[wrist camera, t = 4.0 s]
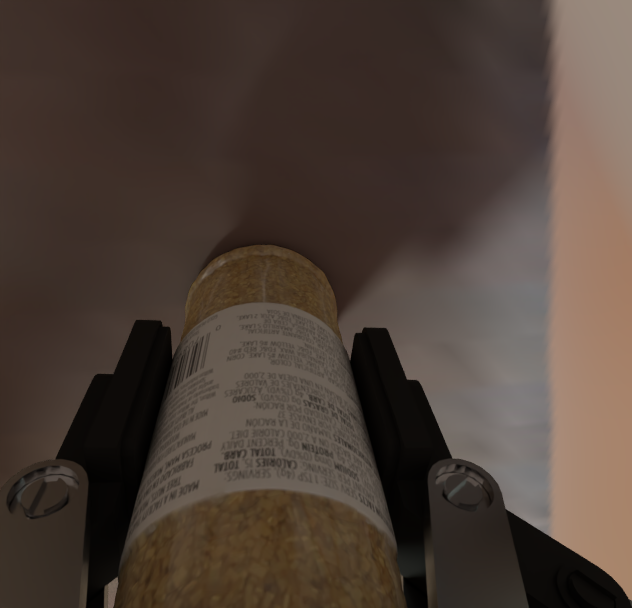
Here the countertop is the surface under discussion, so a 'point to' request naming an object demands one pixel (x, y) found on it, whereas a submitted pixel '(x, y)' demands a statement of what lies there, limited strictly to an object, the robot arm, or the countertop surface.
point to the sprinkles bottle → (260, 455)
